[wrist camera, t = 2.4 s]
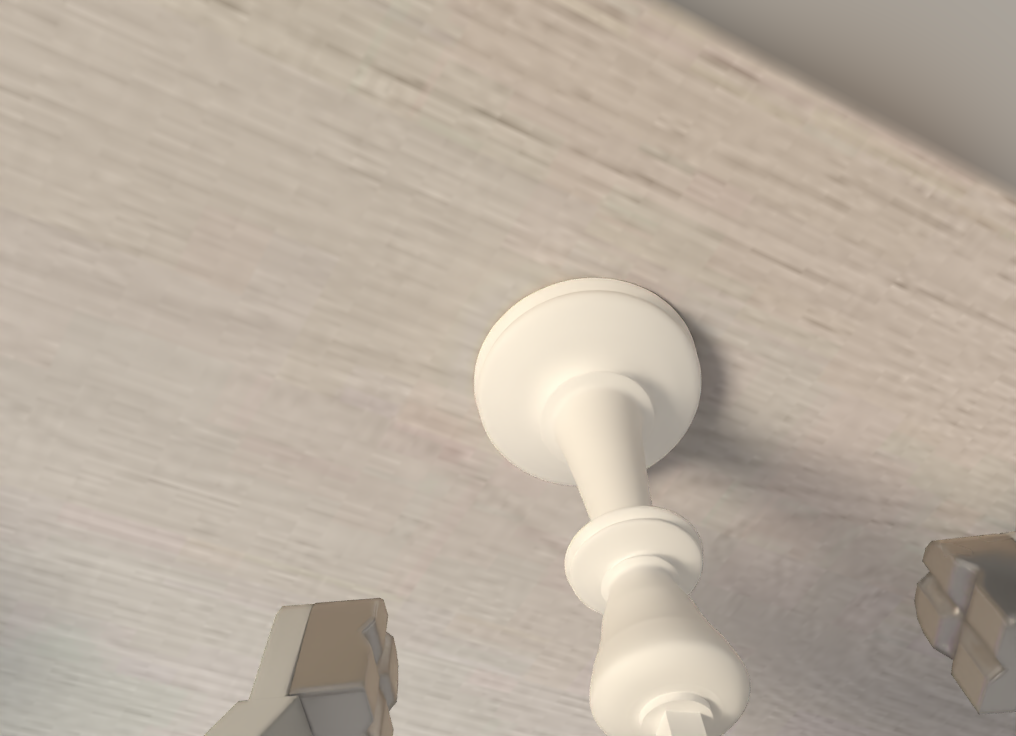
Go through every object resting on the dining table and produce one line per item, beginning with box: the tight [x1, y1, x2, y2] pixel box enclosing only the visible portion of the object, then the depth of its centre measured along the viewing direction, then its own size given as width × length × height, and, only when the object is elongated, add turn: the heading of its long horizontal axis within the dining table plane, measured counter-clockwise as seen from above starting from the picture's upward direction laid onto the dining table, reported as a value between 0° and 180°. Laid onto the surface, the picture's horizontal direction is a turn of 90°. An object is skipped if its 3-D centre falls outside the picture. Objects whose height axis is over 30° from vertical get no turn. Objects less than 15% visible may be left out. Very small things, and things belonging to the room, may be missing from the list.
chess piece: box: [474, 278, 750, 736], centre depth 12 cm, size 5×5×10 cm
